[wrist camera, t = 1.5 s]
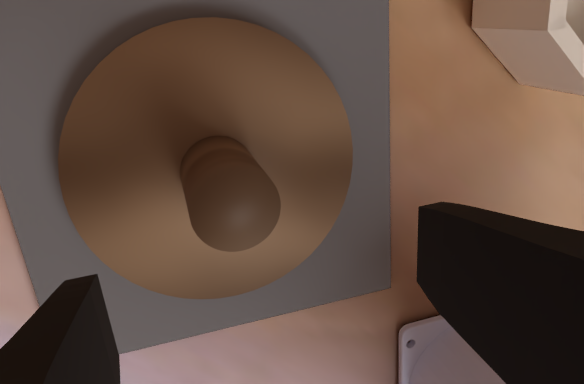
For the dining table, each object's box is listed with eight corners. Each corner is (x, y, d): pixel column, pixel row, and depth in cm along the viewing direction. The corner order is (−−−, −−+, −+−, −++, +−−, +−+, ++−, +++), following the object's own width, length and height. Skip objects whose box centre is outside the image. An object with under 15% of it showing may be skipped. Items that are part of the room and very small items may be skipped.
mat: (387, 283, 24) (390, 287, 23) (61, 362, 20) (60, 368, 20) (383, -57, 18) (388, -59, 18) (-65, -30, 15) (-70, -31, 14)
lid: (351, 260, 22) (401, 317, 18) (100, 317, 20) (88, 400, 15) (339, 3, 18) (399, -1, 14) (21, 34, 16) (-25, 40, 11)
